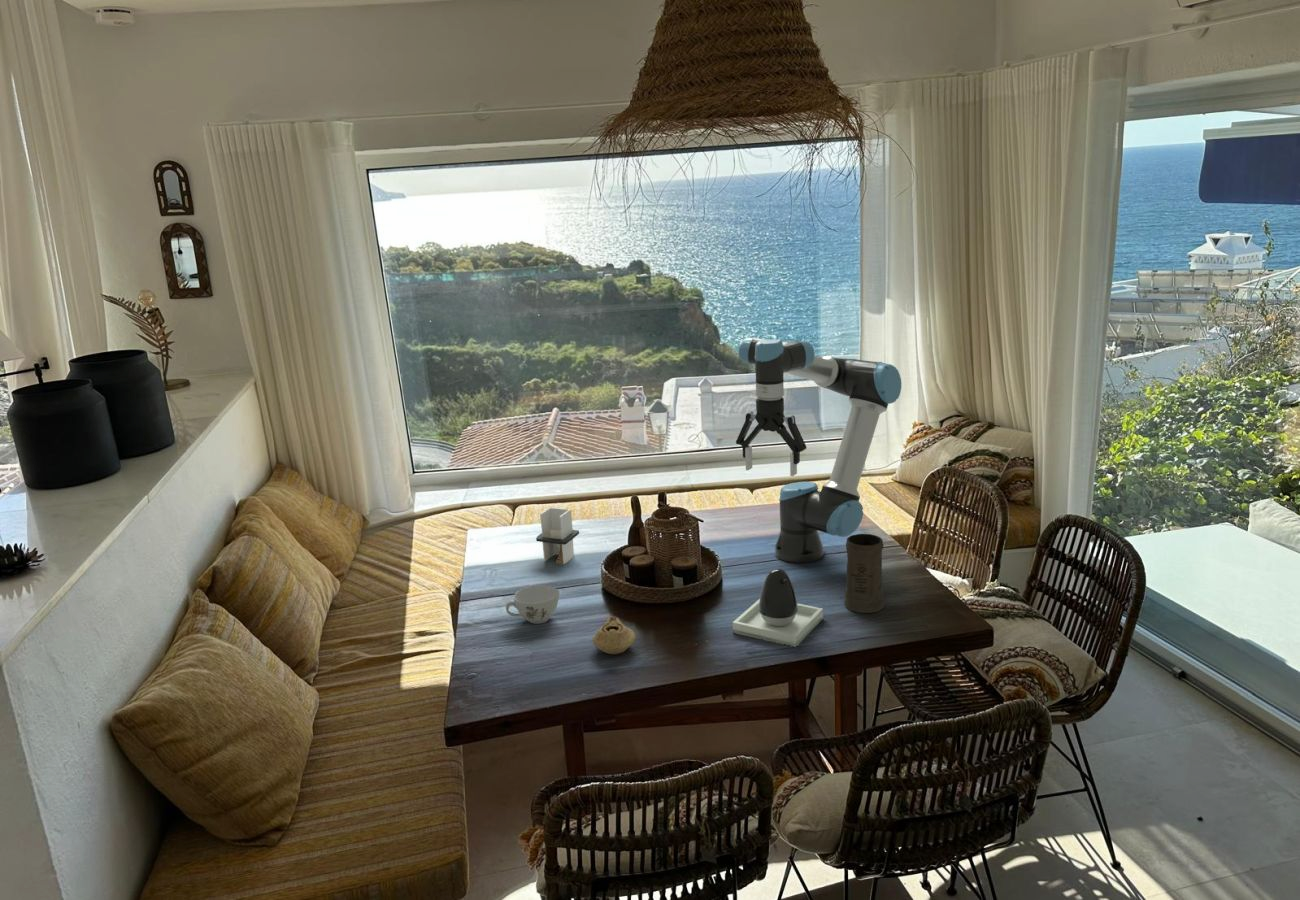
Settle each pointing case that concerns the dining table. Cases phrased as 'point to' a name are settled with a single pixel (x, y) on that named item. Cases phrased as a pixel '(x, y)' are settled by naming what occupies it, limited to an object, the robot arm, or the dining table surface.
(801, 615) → the tray
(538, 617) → the teacup
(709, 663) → the dining table surface
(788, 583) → the dark grey rounded piece
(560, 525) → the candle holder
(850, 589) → the beer stein
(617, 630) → the oil lamp
